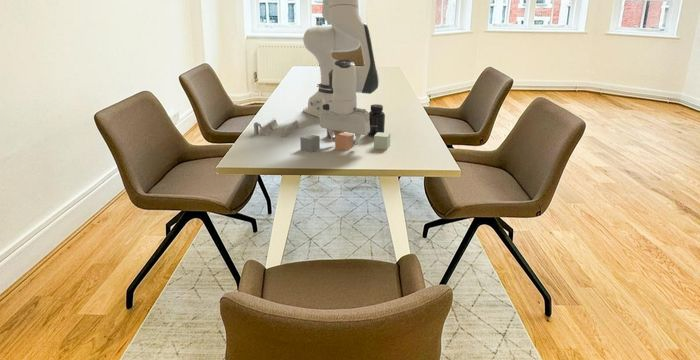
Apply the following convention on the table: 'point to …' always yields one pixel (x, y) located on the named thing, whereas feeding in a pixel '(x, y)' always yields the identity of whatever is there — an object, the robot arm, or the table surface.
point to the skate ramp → (272, 126)
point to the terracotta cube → (344, 141)
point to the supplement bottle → (376, 119)
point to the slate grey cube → (310, 142)
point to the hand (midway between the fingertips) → (344, 142)
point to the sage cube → (381, 140)
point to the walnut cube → (334, 133)
